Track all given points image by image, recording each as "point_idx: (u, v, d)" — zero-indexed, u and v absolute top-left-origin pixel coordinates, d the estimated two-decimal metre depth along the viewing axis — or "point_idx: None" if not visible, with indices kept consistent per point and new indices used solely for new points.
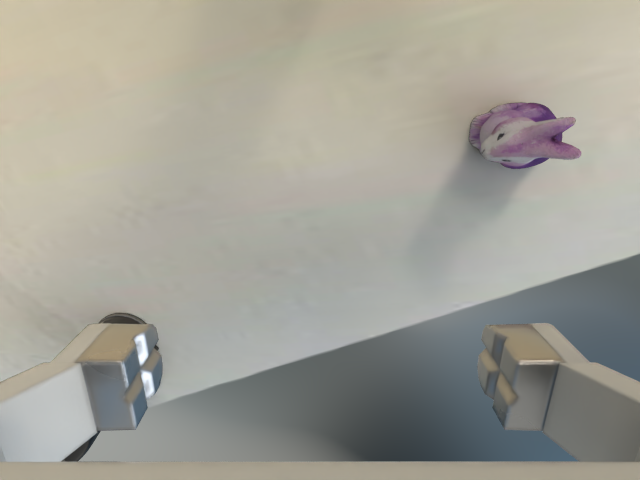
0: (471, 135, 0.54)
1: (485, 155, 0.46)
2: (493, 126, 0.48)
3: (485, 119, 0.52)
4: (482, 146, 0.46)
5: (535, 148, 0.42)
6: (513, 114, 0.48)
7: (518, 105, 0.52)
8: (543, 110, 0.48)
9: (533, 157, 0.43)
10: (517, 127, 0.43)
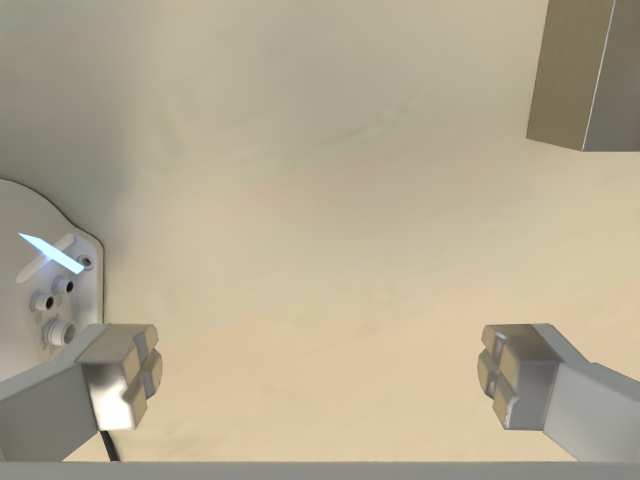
0: None
1: None
2: None
3: None
4: None
5: None
6: None
7: None
8: None
9: None
10: None
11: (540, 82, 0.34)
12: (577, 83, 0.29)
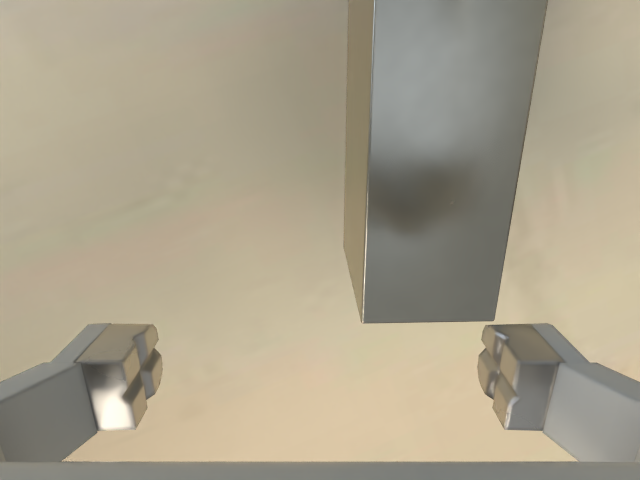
0: None
1: None
2: None
3: None
4: None
5: None
6: None
7: None
8: None
9: None
10: None
11: (346, 172, 0.22)
12: (358, 199, 0.17)
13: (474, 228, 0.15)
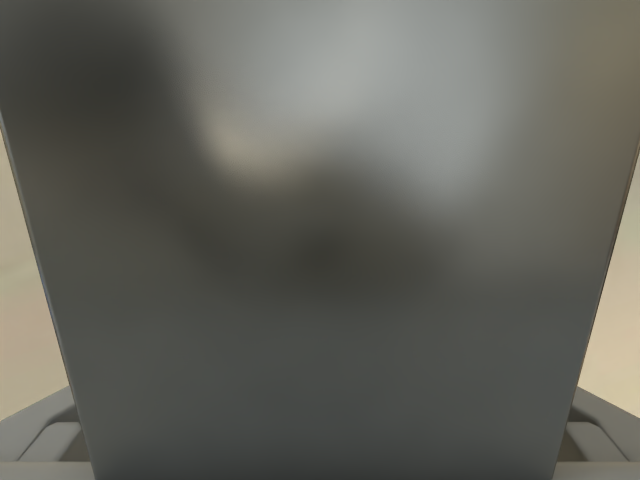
0: None
1: None
2: None
3: None
4: None
5: None
6: None
7: None
8: None
9: None
10: None
11: None
12: None
13: None
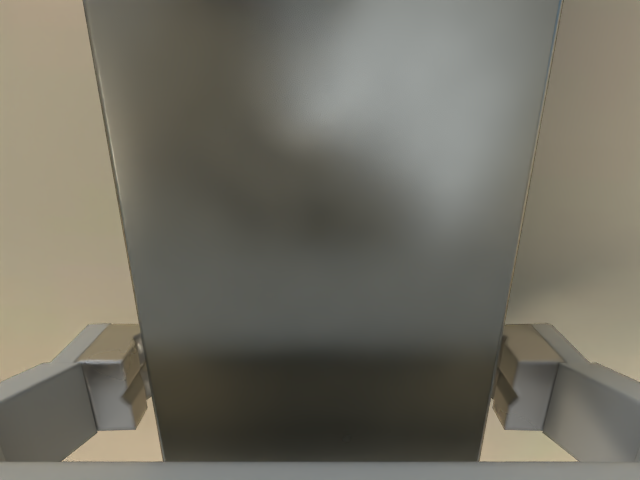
0: None
1: None
2: None
3: None
4: None
5: None
6: None
7: None
8: None
9: None
10: None
11: None
12: None
13: None
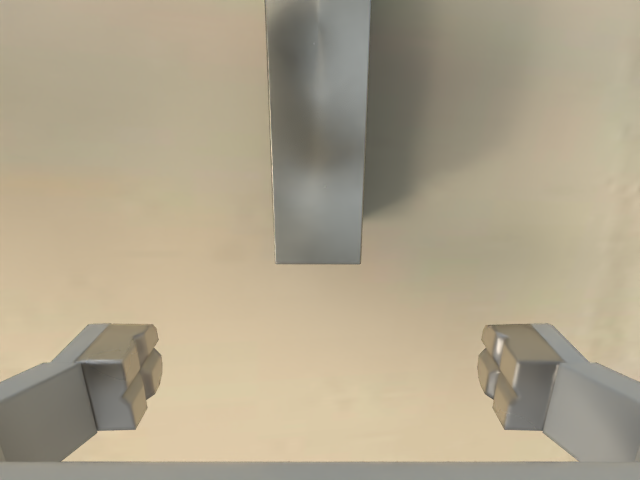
0: None
1: None
2: None
3: None
4: None
5: None
6: None
7: None
8: None
9: None
10: None
11: None
12: None
13: (340, 203, 0.24)
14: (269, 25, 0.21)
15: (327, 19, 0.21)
